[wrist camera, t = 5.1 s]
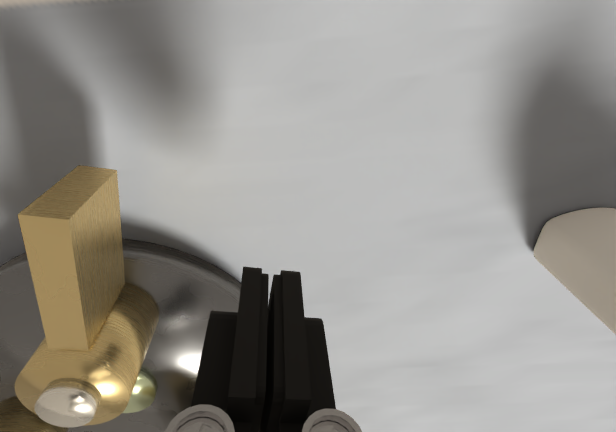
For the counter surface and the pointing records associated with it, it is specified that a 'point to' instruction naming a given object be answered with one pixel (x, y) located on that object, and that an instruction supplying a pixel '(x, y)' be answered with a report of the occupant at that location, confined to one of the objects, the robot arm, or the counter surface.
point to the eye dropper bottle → (583, 258)
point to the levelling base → (165, 342)
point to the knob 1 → (22, 418)
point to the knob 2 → (82, 304)
